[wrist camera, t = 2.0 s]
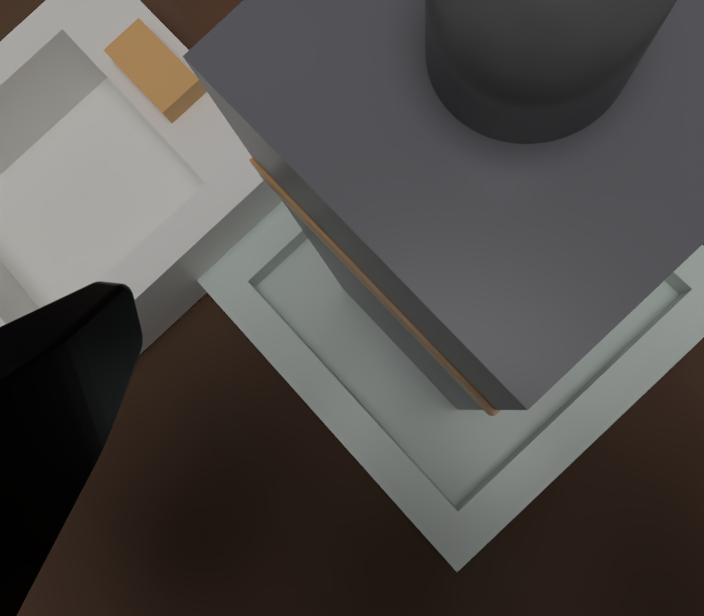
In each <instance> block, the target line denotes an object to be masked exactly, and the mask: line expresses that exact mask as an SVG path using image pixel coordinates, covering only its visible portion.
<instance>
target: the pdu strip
mask: <svg viewBox="0 0 704 616" xmlns="http://www.w3.org/2000/svg"><path fill="white" fill-rule="evenodd" d="M188 51H189V50H188V49H187V48H186V47H185V46H184V45H183V44H182V43H181V42H180V41H179V40H178V39H177V38H176V37H175V36H174V35H173V34H172V33H171V32H170V31H169V30H168V29H167V28H166V27H165V26H164V25H163V24H162V23H161V22H160V20H159V19H158V18H157V17H156V16H155V15H154V14H153V13H152V12H151V11H150V10H149V9H148V8H147V7H146V6H145V5H144V4H143V3H142V2H141V1H140V0H46V1H45V2H44V3H42V4H41V5H40V6H39V7H38V8H37V9H36V10H35V11H34V12H32V13H31V14H30V15H29V16H28V17H27V18H26V19H25V20H24V21H23V22H21V23H20V24H19V25H18V26H17V27H16V28H15V29H14V30H13V31H12V32H10V33H9V34H8V35H7V36H6V37H5V38H4V39H3V40H2V41H1V42H0V327H1V326H3V325H5V324H7V323H10V322H12V321H14V320H16V319H18V318H20V317H22V316H24V315H26V314H28V313H31V312H33V311H35V310H37V309H39V308H41V307H43V306H45V305H47V304H49V303H52V302H54V301H56V300H58V299H60V298H62V297H64V296H66V295H68V294H70V293H73V292H75V291H77V290H79V289H81V288H83V287H85V286H87V285H89V284H91V283H94V282H98V281H103V282H113V283H122V284H125V285H127V286H128V287H130V289H131V291H132V293H133V296H134V300H135V304H136V308H137V312H138V316H139V320H140V325H141V329H142V334H143V344H142V349H141V352H140V354H141V353H142V352H143V351H145V350H146V349H147V348H148V347H149V346H150V345H151V344H152V343H153V342H154V341H155V340H156V339H157V338H159V337H160V336H161V335H162V334H163V333H164V332H165V331H166V330H167V329H168V328H169V327H170V326H171V325H173V324H174V323H175V322H176V321H177V320H178V319H179V318H180V317H181V316H182V315H183V314H184V313H185V312H187V311H188V310H189V309H190V308H191V307H192V306H193V305H194V304H195V303H196V302H197V301H198V300H199V299H201V298H202V297H203V296H204V295H205V294H206V293H207V291H206V290H205V289H204V288H203V287H202V286H201V285H200V284H199V282H198V281H197V280H198V279H199V278H200V277H201V276H202V275H203V274H204V273H205V272H206V271H208V270H209V269H210V268H211V267H212V266H213V265H214V264H215V263H216V262H217V261H218V260H219V259H221V258H222V257H223V256H224V255H225V254H226V253H227V252H228V251H229V250H230V249H231V248H232V247H233V246H235V245H236V244H237V243H238V242H239V241H240V240H241V239H242V238H243V237H244V236H245V235H246V234H247V233H249V232H250V231H251V230H252V229H253V228H254V227H255V226H256V225H257V224H258V223H259V222H260V221H261V220H263V219H264V218H265V217H266V216H267V215H268V214H269V213H270V212H271V211H272V210H273V209H274V208H275V207H277V206H278V205H279V204H280V203H281V202H282V200H281V198H280V197H279V196H278V195H277V194H276V193H275V192H274V191H273V190H272V189H271V188H270V187H269V186H268V185H267V184H266V183H265V182H264V180H263V179H262V178H261V176H260V175H259V173H258V172H257V171H256V169H255V168H254V166H253V165H252V164H251V162H250V161H249V160H250V159H251V158H252V156H251V155H250V153H249V152H248V150H247V149H246V147H245V146H244V145H243V143H242V142H241V140H240V139H239V137H238V136H237V134H236V133H235V132H234V130H233V129H232V127H231V126H230V124H229V123H228V121H227V120H226V119H225V117H224V116H223V114H222V113H221V111H220V110H219V108H218V107H217V105H216V104H215V103H214V101H213V100H212V98H211V97H210V95H209V94H208V92H207V91H206V90H205V88H204V87H203V85H202V84H201V82H200V81H199V79H198V78H197V76H196V75H195V74H194V72H193V71H192V69H191V68H190V66H189V65H188V63H187V62H186V61H185V59H184V58H183V55H184V54H186V53H187V52H188Z"/></svg>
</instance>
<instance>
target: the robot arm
mask: <svg viewBox="0 0 704 616" xmlns="http://www.w3.org/2000/svg"><path fill="white" fill-rule="evenodd" d="M142 344H143V334H142V329H141V325H140V320H139V316H138V312H137V308H136V304H135V300H134V296H133V293H132V291H131V289H130V287H128V286H127V285H125V284H122V283H113V282H103V281H98V282H94V283H91V284H89V285H87V286H85V287H83V288H81V289H79V290H77V291H75V292H73V293H70V294H68V295H66V296H64V297H62V298H60V299H58V300H56V301H54V302H52V303H49V304H47V305H45V306H43V307H41V308H39V309H37V310H35V311H33V312H31V313H28V314H26V315H24V316H22V317H20V318H18V319H16V320H14V321H12V322H10V323H7V324H5V325H3V326H1V327H0V616H16V615H17V613H18V611H19V610H20V608H21V606H22V604H23V602H24V600H25V598H26V596H27V594H28V592H29V590H30V588H31V587H32V585H33V583H34V581H35V579H36V577H37V575H38V573H39V571H40V569H41V567H42V565H43V564H44V562H45V560H46V558H47V556H48V554H49V552H50V550H51V548H52V546H53V544H54V542H55V541H56V539H57V537H58V535H59V533H60V531H61V529H62V527H63V525H64V523H65V521H66V519H67V518H68V516H69V514H70V512H71V510H72V508H73V506H74V504H75V502H76V500H77V498H78V496H79V495H80V493H81V491H82V489H83V487H84V485H85V483H86V481H87V479H88V477H89V475H90V473H91V472H92V470H93V468H94V466H95V464H96V462H97V460H98V458H99V456H100V454H101V452H102V450H103V447H104V445H105V443H106V440H107V438H108V435H109V433H110V431H111V428H112V425H113V423H114V420H115V418H116V415H117V412H118V410H119V407H120V405H121V402H122V399H123V397H124V394H125V392H126V389H127V386H128V384H129V381H130V379H131V376H132V373H133V371H134V368H135V366H136V363H137V360H138V358H139V355H140V352H141V349H142Z"/></svg>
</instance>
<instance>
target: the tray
mask: <svg viewBox="0 0 704 616" xmlns="http://www.w3.org/2000/svg"><path fill="white" fill-rule="evenodd" d="M197 281H198V282H199V284H200V285H201V286H202V287H203V288H204V289H205V290H206V291H207V293H208V294H209V295H210V296H211V297H212V298H213V299H214V300H215V302H216V303H217V304H218V305H219V306H220V307H221V308H222V309H223V311H224V312H225V313H226V314H227V315H228V316H229V317H230V318H231V319H232V321H233V322H234V323H235V324H236V325H237V326H238V327H239V328H240V330H241V331H242V332H243V333H244V334H245V335H246V336H247V337H248V339H249V340H250V341H251V342H252V343H253V344H254V345H255V346H256V348H257V349H258V350H259V351H260V352H261V353H262V354H263V355H264V357H265V358H266V359H267V360H268V361H269V362H270V363H271V364H272V365H273V367H274V368H275V369H276V370H277V371H278V372H279V373H280V374H281V376H282V377H283V378H284V379H285V380H286V381H287V382H288V383H289V385H290V386H291V387H292V388H293V389H294V390H295V391H296V392H297V394H298V395H299V396H300V397H301V398H302V399H303V400H304V401H305V402H306V404H307V405H308V406H309V407H310V408H311V409H312V410H313V411H314V413H315V414H316V415H317V416H318V417H319V418H320V419H321V420H322V422H323V423H324V424H325V425H326V426H327V427H328V428H329V429H330V431H331V432H332V433H333V434H334V435H335V436H336V437H337V438H338V440H339V441H340V442H341V443H342V444H343V445H344V446H345V447H346V448H347V450H348V451H349V452H350V453H351V454H352V455H353V456H354V457H355V459H356V460H357V461H358V462H359V463H360V464H361V465H362V466H363V468H364V469H365V470H366V471H367V472H368V473H369V474H370V475H371V477H372V478H373V479H374V480H375V481H376V482H377V483H378V484H379V486H380V487H381V488H382V489H383V490H384V491H385V492H386V493H387V494H388V496H389V497H390V498H391V499H392V500H393V501H394V502H395V503H396V505H397V506H398V507H399V508H400V509H401V510H402V511H403V512H404V514H405V515H406V516H407V517H408V518H409V519H410V520H411V521H412V523H413V524H414V525H415V526H416V527H417V528H418V529H419V530H420V532H421V533H422V534H423V535H424V536H425V537H426V538H427V539H428V540H429V542H430V543H431V544H432V545H433V546H434V547H435V548H436V549H437V551H438V552H439V553H440V554H441V555H442V556H443V557H444V558H445V560H446V561H447V562H448V563H449V564H450V565H451V566H452V567H453V569H454V570H455V571H456V572H458V571H459V570H460V569H461V568H462V567H463V566H464V565H465V564H466V563H468V562H469V561H470V560H471V559H472V558H473V557H474V556H475V555H476V554H477V553H478V552H479V551H480V550H481V549H482V548H483V547H484V546H485V545H486V544H487V543H488V542H490V541H491V540H492V539H493V538H494V537H495V536H496V535H497V534H498V533H499V532H500V531H501V530H502V529H503V528H504V527H505V526H506V525H507V524H508V523H509V522H510V521H512V520H513V519H514V518H515V517H516V516H517V515H518V514H519V513H520V512H521V511H522V510H523V509H524V508H525V507H526V506H527V505H528V504H529V503H530V502H531V501H532V500H534V499H535V498H536V497H537V496H538V495H539V494H540V493H541V492H542V491H543V490H544V489H545V488H546V487H547V486H548V485H549V484H550V483H551V482H552V481H553V480H554V479H556V478H557V477H558V476H559V475H560V474H561V473H562V472H563V471H564V470H565V469H566V468H567V467H568V466H569V465H570V464H571V463H572V462H573V461H574V460H575V459H577V458H578V457H579V456H580V455H581V454H582V453H583V452H584V451H585V450H586V449H587V448H588V447H589V446H590V445H591V444H592V443H593V442H594V441H595V440H596V439H597V438H599V437H600V436H601V435H602V434H603V433H604V432H605V431H606V430H607V429H608V428H609V427H610V426H611V425H612V424H613V423H614V422H615V421H616V420H617V419H618V418H619V417H621V416H622V415H623V414H624V413H625V412H626V411H627V410H628V409H629V408H630V407H631V406H632V405H633V404H634V403H635V402H636V401H637V400H638V399H639V398H640V397H641V396H643V395H644V394H645V393H646V392H647V391H648V390H649V389H650V388H651V387H652V386H653V385H654V384H655V383H656V382H657V381H658V380H659V379H660V378H661V377H662V376H663V375H665V374H666V373H667V372H668V371H669V370H670V369H671V368H672V367H673V366H674V365H675V364H676V363H677V362H678V361H679V360H680V359H681V358H682V357H683V356H684V355H685V354H687V353H688V352H689V351H690V350H691V349H692V348H693V347H694V346H695V345H696V344H697V343H698V342H699V341H700V340H701V339H702V338H703V337H704V246H703V245H701V246H700V247H699V248H698V249H697V250H696V251H695V252H694V253H693V254H692V255H691V256H690V257H689V258H688V259H687V260H685V261H684V262H683V263H682V264H681V265H680V266H679V267H678V268H677V269H676V270H675V271H674V272H673V273H672V274H671V275H670V276H669V277H668V278H666V279H665V280H664V281H663V282H662V283H661V284H660V285H659V286H658V287H657V288H656V289H655V290H654V291H653V292H652V293H651V294H650V295H649V296H648V297H646V298H645V299H644V300H643V301H642V302H641V303H640V304H639V305H638V306H637V307H636V308H635V309H634V310H633V311H632V312H631V313H630V314H629V315H628V316H626V317H625V318H624V319H623V320H622V321H621V322H620V323H619V324H618V325H617V326H616V327H615V328H614V329H613V330H612V331H611V332H610V333H609V334H608V335H606V336H605V337H604V338H603V339H602V340H601V341H600V342H599V343H598V344H597V345H596V346H595V347H594V348H593V349H592V350H591V351H590V352H589V353H588V354H586V355H585V356H584V357H583V358H582V359H581V360H580V361H579V362H578V363H577V364H576V365H575V366H574V367H573V368H572V369H571V370H570V371H569V372H567V373H566V374H565V375H564V376H563V377H562V378H561V379H560V380H559V381H558V382H557V383H556V384H555V385H554V386H553V387H552V388H551V389H550V390H549V391H547V392H546V393H545V394H544V395H543V396H542V397H541V398H540V399H539V400H538V401H537V402H536V403H535V404H534V405H533V406H532V407H531V408H530V409H529V410H500V411H499V412H498V413H497V414H496V415H495V416H490V415H488V414H487V413H486V412H485V411H484V410H458V409H457V408H456V407H455V406H454V405H453V404H452V403H451V402H450V401H449V400H448V399H447V398H446V397H445V396H444V395H443V394H442V393H441V392H440V390H439V389H438V388H437V387H436V386H435V385H434V384H433V383H432V382H431V381H430V380H429V379H428V378H427V377H426V376H425V375H424V374H423V373H422V371H421V370H420V369H419V368H418V367H417V366H416V365H415V364H414V363H413V362H412V361H411V360H410V359H409V358H408V357H407V356H406V355H405V354H404V352H403V351H402V350H401V349H400V348H399V347H398V346H397V345H396V344H395V343H394V342H393V341H392V340H391V339H390V338H389V337H388V336H387V335H386V334H385V332H384V331H383V330H382V329H381V328H380V327H379V326H378V325H377V324H376V323H375V322H374V321H373V320H372V319H371V318H370V317H369V316H368V315H367V313H366V312H365V311H364V310H363V309H362V308H361V307H360V306H359V305H358V304H357V303H356V302H355V301H354V300H353V299H352V298H351V297H350V296H349V295H348V293H347V292H346V291H345V290H344V289H343V288H342V287H341V285H340V284H339V282H338V281H337V279H336V278H335V276H334V275H333V274H332V272H331V271H330V269H329V268H328V266H327V265H326V263H325V262H324V261H323V259H322V258H321V256H320V255H319V253H318V252H317V250H316V249H315V247H314V246H313V245H312V243H311V242H310V240H309V239H308V237H307V236H306V234H305V233H304V232H303V230H302V229H301V227H300V226H299V224H298V223H297V221H296V220H295V218H294V217H293V216H292V214H291V213H290V211H289V210H288V208H287V207H286V205H285V204H284V203H283V201H282V202H281V203H280V204H279V205H278V206H277V207H275V208H274V209H273V210H272V211H271V212H270V213H269V214H268V215H267V216H266V217H265V218H264V219H263V220H261V221H260V222H259V223H258V224H257V225H256V226H255V227H254V228H253V229H252V230H251V231H250V232H249V233H247V234H246V235H245V236H244V237H243V238H242V239H241V240H240V241H239V242H238V243H237V244H236V245H235V246H233V247H232V248H231V249H230V250H229V251H228V252H227V253H226V254H225V255H224V256H223V257H222V258H221V259H219V260H218V261H217V262H216V263H215V264H214V265H213V266H212V267H211V268H210V269H209V270H208V271H206V272H205V273H204V274H203V275H202V276H201V277H200V278H199V279H198V280H197Z"/></svg>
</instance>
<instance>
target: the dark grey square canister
mask: <svg viewBox="0 0 704 616" xmlns="http://www.w3.org/2000/svg"><path fill="white" fill-rule="evenodd" d="M183 58H184V59H185V61H186V62H187V63H188V65H189V66H190V68H191V69H192V71H193V72H194V74H195V75H196V76H197V78H198V79H199V81H200V82H201V84H202V85H203V87H204V88H205V90H206V91H207V92H208V94H209V95H210V97H211V98H212V100H213V101H214V103H215V104H216V105H217V107H218V108H219V110H220V111H221V113H222V114H223V116H224V117H225V119H226V120H227V121H228V123H229V124H230V126H231V127H232V129H233V130H234V132H235V133H236V134H237V136H238V137H239V139H240V140H241V142H242V143H243V145H244V146H245V147H246V149H247V150H248V152H249V153H250V155H251V156H252V158H251V159H250V160H249V161H250V162H251V164H252V165H253V166H254V168H255V169H256V171H257V172H258V173H259V175H260V176H261V178H262V179H263V180H264V182H265V183H266V184H267V185H268V186H269V187H270V188H271V189H272V190H273V191H274V192H275V193H276V194H277V195H278V196H279V197H280V198H281V200H282V201H283V203H284V204H285V205H286V207H287V208H288V210H289V211H290V213H291V214H292V216H293V217H294V218H295V220H296V221H297V223H298V224H299V226H300V227H301V229H302V230H303V232H304V233H305V234H306V236H307V237H308V239H309V240H310V242H311V243H312V245H313V246H314V247H315V249H316V250H317V252H318V253H319V255H320V256H321V258H322V259H323V261H324V262H325V263H326V265H327V266H328V268H329V269H330V271H331V272H332V274H333V275H334V276H335V278H336V279H337V281H338V282H339V284H340V285H341V287H342V288H343V289H344V290H345V291H346V292H347V293H348V295H349V296H350V297H351V298H352V299H353V300H354V301H355V302H356V303H357V304H358V305H359V306H360V307H361V308H362V309H363V310H364V311H365V312H366V313H367V315H368V316H369V317H370V318H371V319H372V320H373V321H374V322H375V323H376V324H377V325H378V326H379V327H380V328H381V329H382V330H383V331H384V332H385V334H386V335H387V336H388V337H389V338H390V339H391V340H392V341H393V342H394V343H395V344H396V345H397V346H398V347H399V348H400V349H401V350H402V351H403V352H404V354H405V355H406V356H407V357H408V358H409V359H410V360H411V361H412V362H413V363H414V364H415V365H416V366H417V367H418V368H419V369H420V370H421V371H422V373H423V374H424V375H425V376H426V377H427V378H428V379H429V380H430V381H431V382H432V383H433V384H434V385H435V386H436V387H437V388H438V389H439V390H440V392H441V393H442V394H443V395H444V396H445V397H446V398H447V399H448V400H449V401H450V402H451V403H452V404H453V405H454V406H455V407H456V408H457V409H458V410H484V411H485V412H486V413H487V414H488V415H490V416H495V415H496V414H497V413H498V412H499V411H500V410H529V409H530V408H531V407H532V406H533V405H534V404H535V403H536V402H537V401H538V400H539V399H540V398H541V397H542V396H543V395H544V394H545V393H546V392H547V391H549V390H550V389H551V388H552V387H553V386H554V385H555V384H556V383H557V382H558V381H559V380H560V379H561V378H562V377H563V376H564V375H565V374H566V373H567V372H569V371H570V370H571V369H572V368H573V367H574V366H575V365H576V364H577V363H578V362H579V361H580V360H581V359H582V358H583V357H584V356H585V355H586V354H588V353H589V352H590V351H591V350H592V349H593V348H594V347H595V346H596V345H597V344H598V343H599V342H600V341H601V340H602V339H603V338H604V337H605V336H606V335H608V334H609V333H610V332H611V331H612V330H613V329H614V328H615V327H616V326H617V325H618V324H619V323H620V322H621V321H622V320H623V319H624V318H625V317H626V316H628V315H629V314H630V313H631V312H632V311H633V310H634V309H635V308H636V307H637V306H638V305H639V304H640V303H641V302H642V301H643V300H644V299H645V298H646V297H648V296H649V295H650V294H651V293H652V292H653V291H654V290H655V289H656V288H657V287H658V286H659V285H660V284H661V283H662V282H663V281H664V280H665V279H666V278H668V277H669V276H670V275H671V274H672V273H673V272H674V271H675V270H676V269H677V268H678V267H679V266H680V265H681V264H682V263H683V262H684V261H685V260H687V259H688V258H689V257H690V256H691V255H692V254H693V253H694V252H695V251H696V250H697V249H698V248H699V247H700V246H701V245H702V244H703V243H704V0H243V1H242V2H241V3H240V4H239V5H238V6H237V7H236V8H235V9H234V10H232V11H231V12H230V13H229V14H228V15H227V16H226V17H225V18H224V19H223V20H222V21H220V22H219V23H218V24H217V25H216V26H215V27H214V28H213V29H212V30H211V31H210V32H208V33H207V34H206V35H205V36H204V37H203V38H202V39H201V40H200V41H199V42H198V43H196V44H195V45H194V46H193V47H192V48H191V49H190V50H189V51H188V52H187V53H186V54H184V55H183Z"/></svg>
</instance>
